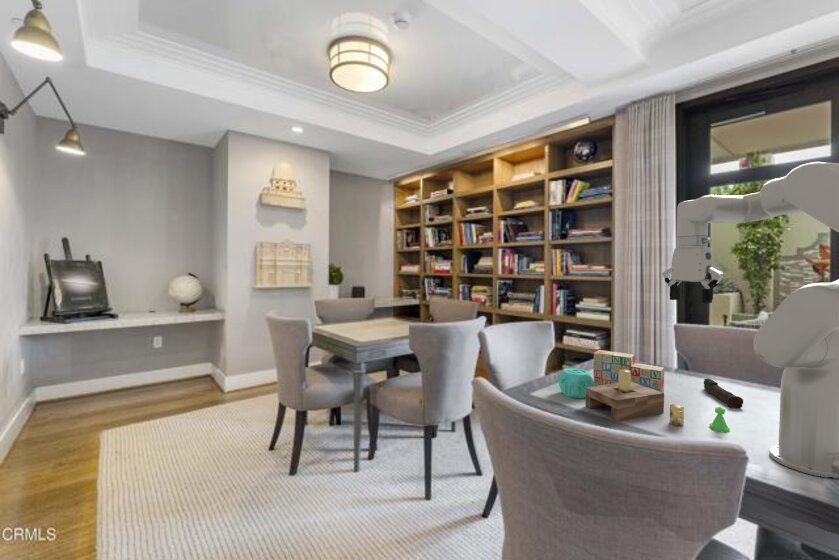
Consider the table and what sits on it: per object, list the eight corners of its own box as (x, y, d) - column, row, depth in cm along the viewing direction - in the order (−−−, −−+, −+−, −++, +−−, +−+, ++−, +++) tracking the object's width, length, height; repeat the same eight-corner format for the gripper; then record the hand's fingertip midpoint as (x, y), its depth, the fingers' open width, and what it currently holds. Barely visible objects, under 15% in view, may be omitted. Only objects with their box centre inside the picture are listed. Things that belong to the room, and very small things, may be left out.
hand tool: (743, 410, 118) (744, 395, 117) (728, 408, 119) (729, 393, 118) (713, 390, 136) (714, 377, 136) (700, 389, 137) (701, 376, 137)
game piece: (707, 428, 104) (708, 406, 104) (711, 424, 107) (711, 402, 107) (728, 433, 101) (729, 411, 100) (730, 428, 104) (731, 406, 103)
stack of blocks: (664, 394, 132) (665, 358, 131) (660, 398, 127) (661, 361, 126) (598, 381, 146) (599, 349, 146) (592, 385, 141) (593, 352, 141)
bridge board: (663, 412, 115) (664, 393, 114) (616, 421, 109) (617, 400, 109) (629, 399, 126) (630, 381, 126) (585, 406, 120) (585, 387, 120)
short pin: (686, 425, 106) (686, 407, 106) (677, 427, 105) (678, 409, 105) (675, 421, 109) (675, 403, 109) (666, 422, 108) (667, 405, 108)
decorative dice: (558, 392, 134) (558, 369, 133) (576, 389, 136) (576, 367, 136) (575, 399, 126) (575, 375, 126) (594, 396, 129) (594, 373, 129)
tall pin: (632, 411, 116) (633, 371, 116) (624, 412, 115) (625, 372, 115) (623, 407, 119) (624, 368, 119) (615, 408, 118) (616, 369, 118)
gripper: (732, 241, 106) (730, 303, 107) (673, 244, 122) (671, 298, 123) (713, 241, 104) (711, 304, 104) (655, 244, 120) (654, 299, 121)
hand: (690, 301), depth 114 cm, fingers open, 9 cm apart
